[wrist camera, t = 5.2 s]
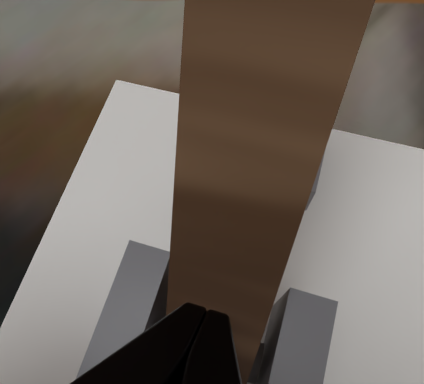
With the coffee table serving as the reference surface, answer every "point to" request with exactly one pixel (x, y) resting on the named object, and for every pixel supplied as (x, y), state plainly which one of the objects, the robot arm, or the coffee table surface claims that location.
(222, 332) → the robot arm
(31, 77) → the coffee table surface
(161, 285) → the white square board
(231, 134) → the lever
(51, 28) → the coffee table surface
